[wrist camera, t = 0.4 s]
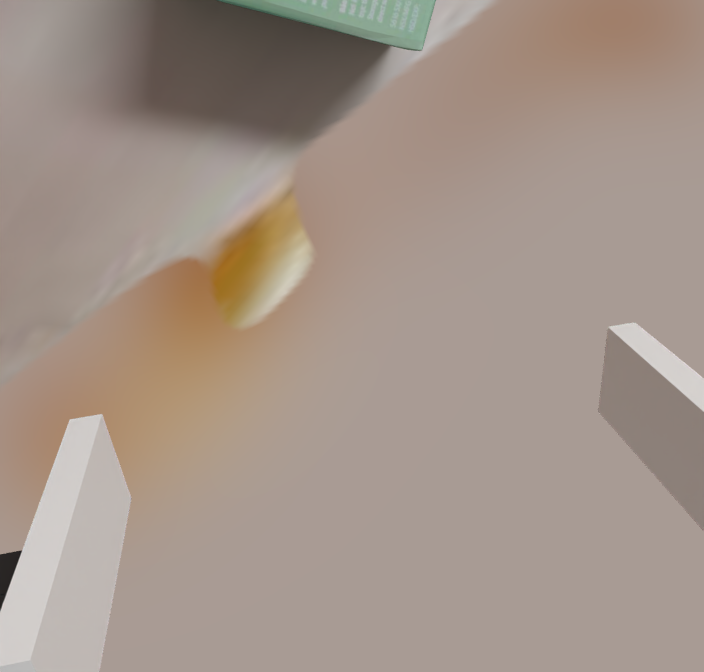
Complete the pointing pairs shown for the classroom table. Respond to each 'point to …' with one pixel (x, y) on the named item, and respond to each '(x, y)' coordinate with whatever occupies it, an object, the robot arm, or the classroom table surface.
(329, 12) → the box
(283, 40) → the classroom table surface
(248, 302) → the classroom table surface
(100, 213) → the classroom table surface
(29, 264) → the classroom table surface
